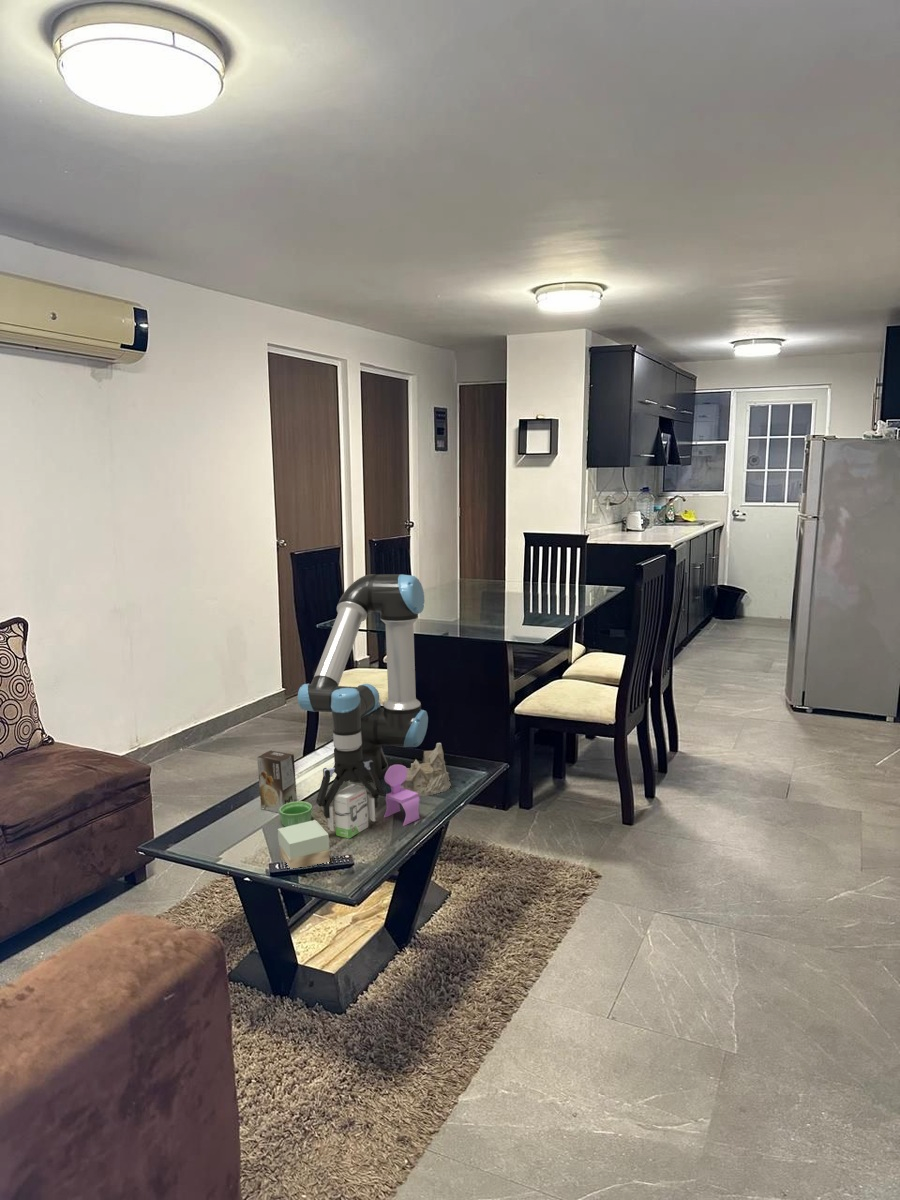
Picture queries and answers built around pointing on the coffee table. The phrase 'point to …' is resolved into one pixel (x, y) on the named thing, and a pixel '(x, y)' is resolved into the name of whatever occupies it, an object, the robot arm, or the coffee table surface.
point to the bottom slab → (305, 859)
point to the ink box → (351, 810)
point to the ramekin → (295, 813)
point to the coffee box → (276, 780)
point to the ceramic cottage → (428, 774)
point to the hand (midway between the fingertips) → (351, 823)
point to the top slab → (303, 839)
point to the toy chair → (400, 795)
